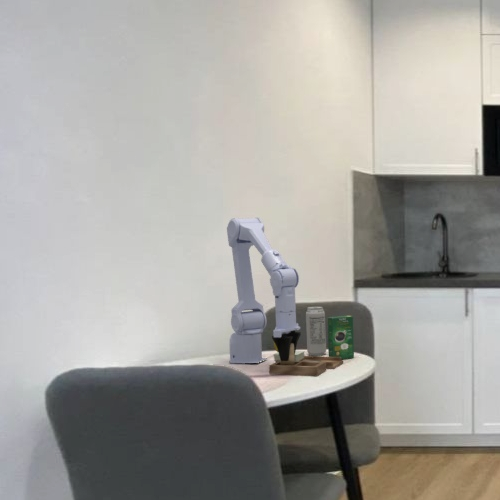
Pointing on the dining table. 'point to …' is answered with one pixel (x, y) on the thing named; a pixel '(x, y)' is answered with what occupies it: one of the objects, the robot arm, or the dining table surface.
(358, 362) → the dining table surface
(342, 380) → the dining table surface
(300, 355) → the lid
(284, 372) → the socket board
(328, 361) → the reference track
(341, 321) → the coffee box
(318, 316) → the energy drink can
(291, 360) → the oak peg
